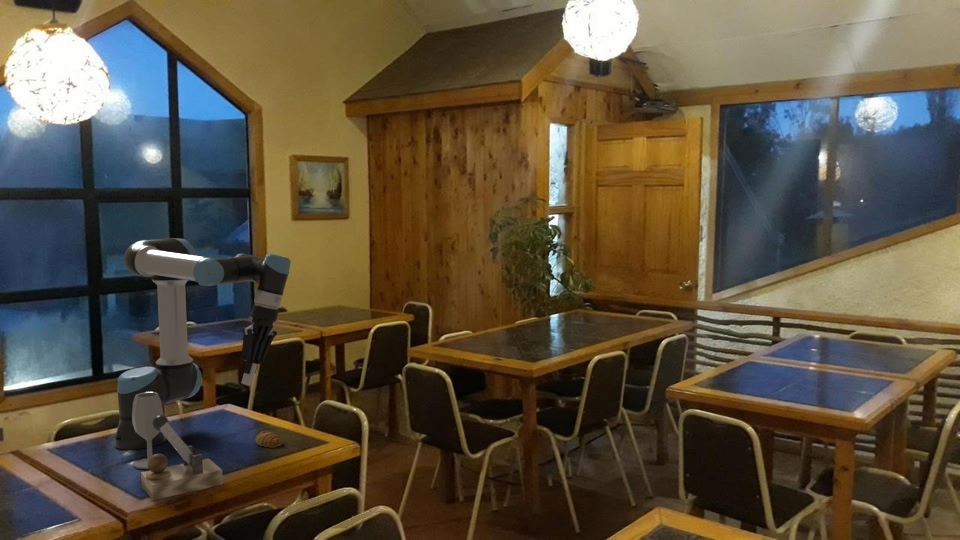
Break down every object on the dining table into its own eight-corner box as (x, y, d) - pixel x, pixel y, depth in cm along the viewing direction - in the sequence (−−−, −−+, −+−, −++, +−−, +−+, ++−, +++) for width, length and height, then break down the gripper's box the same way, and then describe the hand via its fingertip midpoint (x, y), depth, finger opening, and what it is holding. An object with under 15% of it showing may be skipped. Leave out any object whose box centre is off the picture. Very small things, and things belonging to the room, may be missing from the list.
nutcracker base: (152, 500, 197) (150, 462, 197) (141, 486, 207) (139, 450, 206) (222, 484, 208) (221, 448, 207) (209, 472, 218) (207, 437, 217)
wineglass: (146, 471, 219) (142, 399, 217) (127, 466, 223) (123, 395, 221) (172, 462, 226) (169, 393, 224) (154, 458, 231) (150, 389, 229)
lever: (192, 473, 205) (152, 425, 199) (185, 465, 211) (146, 419, 204) (204, 462, 207) (165, 415, 200) (197, 455, 213) (159, 409, 206)
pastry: (288, 445, 242) (287, 433, 242) (270, 451, 237) (269, 438, 236) (270, 439, 248) (270, 428, 248) (252, 445, 243) (252, 433, 242)
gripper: (261, 307, 218) (241, 388, 217) (290, 311, 230) (270, 387, 229) (241, 301, 221) (221, 381, 221) (270, 305, 233) (251, 381, 232)
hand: (246, 384), depth 225 cm, fingers closed
